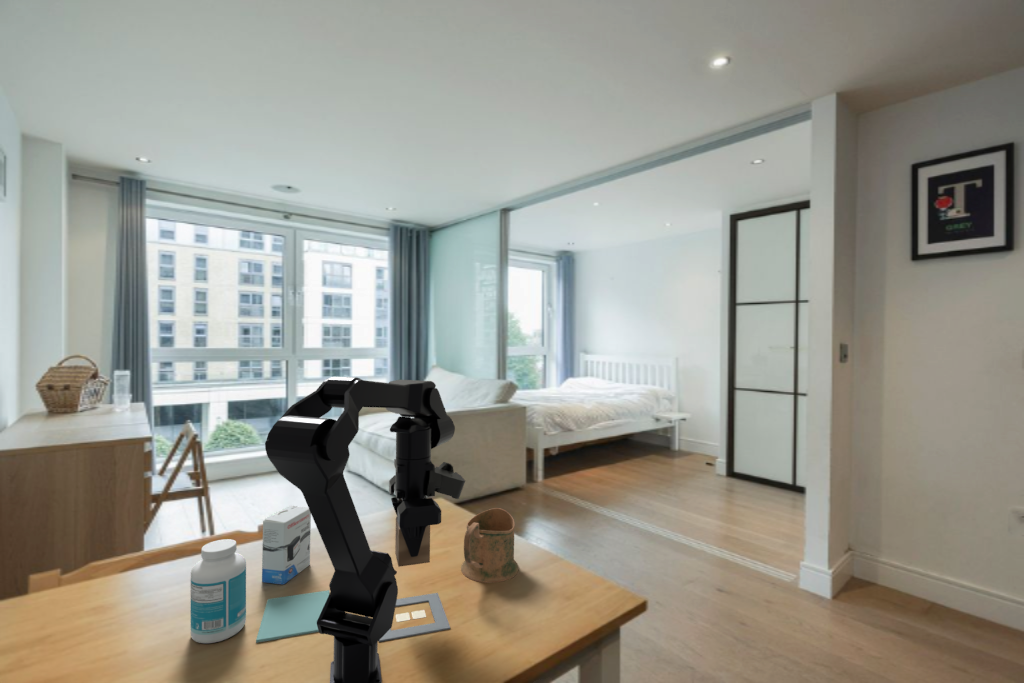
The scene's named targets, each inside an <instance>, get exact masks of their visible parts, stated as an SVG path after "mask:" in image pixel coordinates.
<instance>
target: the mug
mask: <svg viewBox="0 0 1024 683" xmlns="http://www.w3.org/2000/svg"><path fill="white" fill-rule="evenodd" d="M513 517H514V516H512V515H511V514H510V512H508V510H505V509H503V508H500V507H494V508H490V509H487V510H483V511H481V512H479V513H478V514H475V515H474V516H473V517H472V518H470V519H469V521H468V522H467V523H466V531H465V534H464V538H463V555H464V557H463V558H464V561H463V562H462V564H461V565H460V566H461V567H460V571H461V573H462V574H463V575H464V577H466V578H467V579H469V580H472V581H474V582H479V583H484V584H485V583H486V584H487V583H488V584H489V583H491V584H493V583H500V582H505V581H508V580H510V579H513V578H514V577H515V576H517V575H518V573H519V564H518V562H517V561H516V560H515V527H516V526H515V525H516V524H515V519H514V518H513Z"/></svg>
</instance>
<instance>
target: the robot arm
mask: <svg viewBox="0 0 1024 683" xmlns="http://www.w3.org/2000/svg"><path fill="white" fill-rule="evenodd" d="M436 386H437V385H436V383H435V382H434V381H432V380H418V379H415V380H413V379H395V380H390V381H389V382H380V381H374V380H373V381H372V380H366V379H365V380H364V379H361V378H360V377H357V376H356V377H355V376H354V377H353V376H330V377H329V378H326V379H325V380H323V382H322V383H321V384H319V386H318V387H317V389H316V390H315V391H313V392H311V393H310V394H308V395H306V396H305V397H303V398H302V399H300V400H298V401H297V402H295V403H294V404H292V405H291V406H290V407H289V408H288V409H287V410H286V412H284V413H283V415H282V416H280V418H279V419H278V420H277V421H276V422H275V423H274V424H273V425H272V427H271V429H270V430H269V432H268V434H267V438H266V441H265V442H264V447H265V453H266V457H267V458H268V460H269V461H270V462H271V464H272V465H273V467H274V468H275V469H276V471H277V473H278V474H279V475H280V476H281V477H282V478H284V479H285V480H286V481H288V482H289V483H291V484H292V485H293V486H295V488H297V489H299V491H301V493H302V495H303V498H304V499H305V500H304V501H305V502H306V504H307V508H309V510H310V512H311V518H312V519H313V521H314V523H315V526H316V528H317V531H318V533H319V536H320V538H321V540H322V541H321V542H322V543H323V545H324V548H325V551H326V552H327V554H328V558H329V560H330V562H331V564H332V566H333V568H334V573H333V574H332V577H331V579H330V582H329V585H328V586H329V596H328V598H327V601H326V603H325V605H324V607H323V609H322V611H321V614H320V616H319V618H318V620H317V627H318V630H319V632H318V633H319V634H321V635H329V636H332V637H333V660H332V661H331V662H330V670H329V671H330V672H329V674H330V675H329V683H383V682H382V681H383V680H382V671H381V664H380V663H381V661H380V654H379V653H378V646H379V645H378V643H379V640H380V639H381V638H382V637H383V636H384V635H385V634H386V633H387V632H388V631H389V629H390V628H391V629H392V627H393V623H394V622H393V621H394V616H395V611H396V607H395V606H396V601H397V599H398V596H399V595H398V593H399V588H398V581H397V578H396V575H397V572H398V571H397V570H396V569H395V567H394V565H393V560H392V557H391V555H390V554H389V553H388V552H382V551H376V550H371V548H370V545H369V542H368V539H367V537H366V533H365V530H364V528H363V526H362V523H361V520H360V517H359V515H358V512H357V509H356V506H355V504H354V501H353V497H352V495H351V493H350V490H349V488H348V484H347V482H346V479H345V477H344V476H345V475H344V472H345V469H346V466H347V464H348V461H349V458H350V455H351V454H350V448H349V446H350V444H351V443H352V441H353V440H354V438H356V436H357V434H358V433H359V430H360V428H359V424H360V422H359V419H360V417H359V416H360V412H361V411H362V409H363V408H381V409H382V408H383V409H386V411H388V412H391V413H393V414H396V415H397V414H398V415H400V416H398V417H397V419H396V421H395V422H394V423H393V424H391V426H390V428H389V431H390V433H395V459H394V461H393V463H394V464H393V465H394V468H395V475H393V476H392V477H391V478H390V479H389V480H388V487H389V488H388V492H389V495H390V496H394V494H395V497H391V498H390V500H391V503H392V507H393V510H394V512H395V515H396V516H395V517H396V518H397V522H398V525H399V527H400V530H401V532H402V535H403V537H404V540H405V542H406V545H407V547H408V550H409V553H410V555H411V557H416V556H418V554H419V550H420V546H421V543H422V539H423V535H424V532H425V529H426V527H427V526H428V525H430V526H436V525H439V524H440V525H441V523H442V509H441V507H440V505H439V504H438V502H436V501H435V500H434V499H433V498H432V497H435V496H436V493H438V494H442V495H446V496H448V497H451V498H452V499H456V500H459V499H460V498H461V495H462V491H463V488H464V486H465V484H466V480H465V478H464V477H463V476H462V475H461V474H459V472H454V466H453V465H452V464H451V463H449V462H446V461H443V462H442V463H441V464H440V465H439V466H435V464H434V463H433V462H432V459H431V458H432V449H435V448H437V447H439V446H441V445H443V444H445V443H447V442H449V441H450V440H451V439H453V437H454V435H455V431H456V426H455V424H454V421H453V420H452V418H451V416H449V415H448V414H447V411H446V408H445V406H444V403H443V400H442V396H441V394H440V391H439V390H438V388H437V387H436ZM333 408H337V409H338V408H340V409H343V411H342V413H341V414H340V416H338V418H337V420H336V419H333V418H325V417H323V416H325V415H327V414H328V413H329V412H331V410H332V409H333ZM427 497H430V498H427ZM396 518H395V519H396Z"/></svg>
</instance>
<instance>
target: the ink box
mask: <svg viewBox="0 0 1024 683" xmlns="http://www.w3.org/2000/svg"><path fill="white" fill-rule="evenodd" d="M311 518H312V515H311V512H310V510H309V507H304V506H298V505H289V506H286V507H285V508H283V509H281V510H279V511H276V512H274V514H270V515H269V516H267V517H265V518H264V519H263V520H262V554H261V555H262V558H261V559H262V560H261V561H262V563H261V582H262V583H266V584H274V585H275V584H276V585H286V584H287V583H288V582H289V581H290V580H292V579H293V578H294V577H296V576H297V575H299V574H300V573H301V572H302V571H304V570H305V569H306V568H308V567H309V566H310V565H311V528H312V526H311V521H312V519H311Z"/></svg>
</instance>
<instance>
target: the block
mask: <svg viewBox="0 0 1024 683" xmlns="http://www.w3.org/2000/svg"><path fill="white" fill-rule="evenodd" d="M394 538H395V539H394V540H395V545H394V546H395V548H394V549H395V551H394V553H395V558H396V562H397V566H398V568H400V567H406V566H407V567H408V566H414V565H420V564H427V563H430V562H431V560H430V559H431V525H428V526H427V527H426V529H425V532H424V535H423V539H422V543H421V546H420V550H419V554H418V556H416V557H411V555H410V553H409V550H408V547H407V545H406V542H405V540H404V537H403V535H402V532H401V530H400V527H399V525H398V522H397V518H395V537H394Z"/></svg>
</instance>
